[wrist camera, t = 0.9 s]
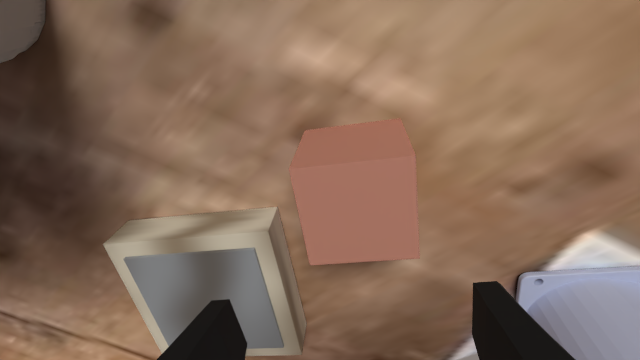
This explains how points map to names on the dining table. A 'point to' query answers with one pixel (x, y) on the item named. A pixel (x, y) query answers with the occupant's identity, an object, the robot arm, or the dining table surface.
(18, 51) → the coffee cup
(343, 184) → the block
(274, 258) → the base
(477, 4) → the dining table surface
